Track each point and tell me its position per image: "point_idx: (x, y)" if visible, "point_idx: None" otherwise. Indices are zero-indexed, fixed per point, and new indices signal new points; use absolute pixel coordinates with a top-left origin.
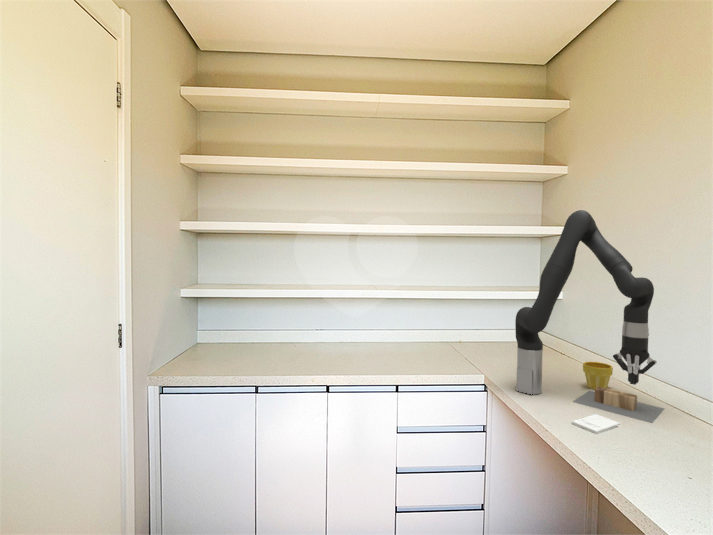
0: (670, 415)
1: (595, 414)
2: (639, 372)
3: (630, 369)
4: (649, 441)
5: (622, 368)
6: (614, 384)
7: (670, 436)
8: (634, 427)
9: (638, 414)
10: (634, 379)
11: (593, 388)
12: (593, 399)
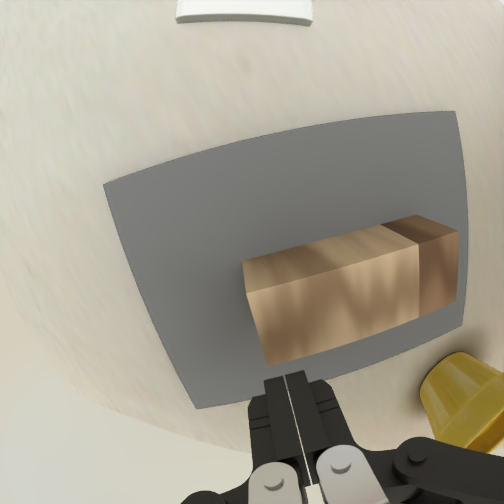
0: (152, 373)
1: (305, 12)
2: (240, 500)
3: (343, 490)
4: (49, 19)
5: (432, 446)
6: None
7: (24, 139)
8: (132, 71)
9: (199, 238)
10: (274, 414)
11: (455, 355)
12: None
